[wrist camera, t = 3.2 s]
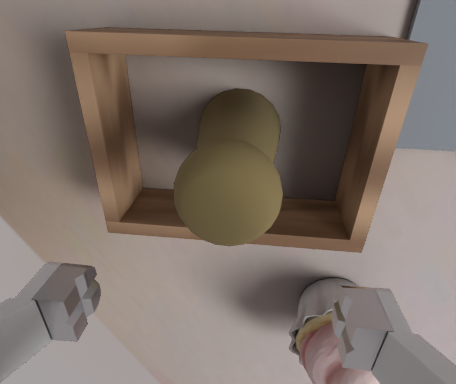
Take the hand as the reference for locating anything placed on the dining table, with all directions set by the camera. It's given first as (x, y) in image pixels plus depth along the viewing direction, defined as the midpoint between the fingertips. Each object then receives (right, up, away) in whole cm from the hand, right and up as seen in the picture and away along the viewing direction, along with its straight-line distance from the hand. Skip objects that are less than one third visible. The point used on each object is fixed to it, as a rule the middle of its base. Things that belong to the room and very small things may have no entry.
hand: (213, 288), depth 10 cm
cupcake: (+11, -7, +21) cm, 24 cm away
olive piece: (+1, +8, +13) cm, 15 cm away
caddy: (+1, +8, +12) cm, 15 cm away
